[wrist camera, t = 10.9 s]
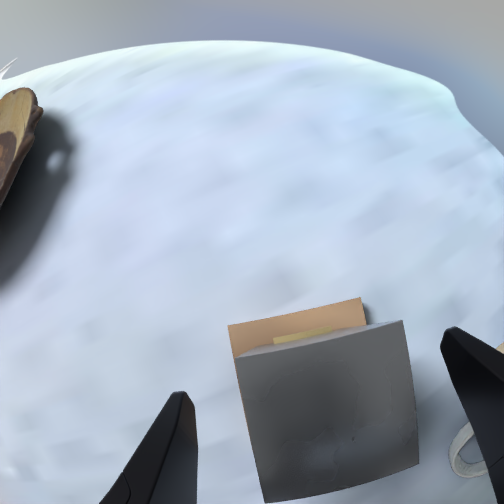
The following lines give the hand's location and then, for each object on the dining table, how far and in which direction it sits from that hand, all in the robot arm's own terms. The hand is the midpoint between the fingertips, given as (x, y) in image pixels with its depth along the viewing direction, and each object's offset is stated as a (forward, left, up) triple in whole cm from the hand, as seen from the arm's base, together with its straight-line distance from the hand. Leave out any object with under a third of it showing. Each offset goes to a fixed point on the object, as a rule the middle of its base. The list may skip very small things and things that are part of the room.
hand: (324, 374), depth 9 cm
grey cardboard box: (0, +1, -8) cm, 8 cm away
